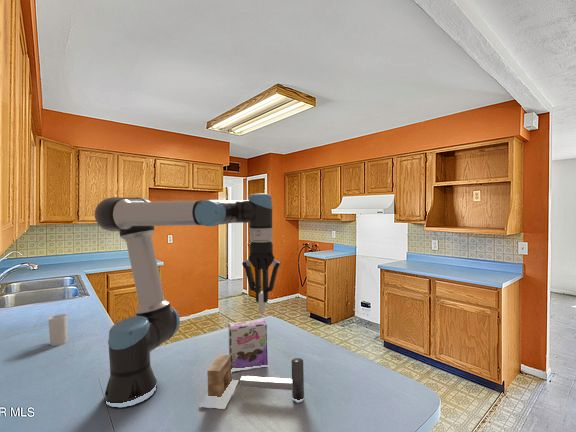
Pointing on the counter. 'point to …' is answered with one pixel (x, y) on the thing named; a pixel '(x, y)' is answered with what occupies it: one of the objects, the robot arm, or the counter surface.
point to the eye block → (219, 375)
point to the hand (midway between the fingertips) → (262, 311)
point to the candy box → (248, 343)
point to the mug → (58, 329)
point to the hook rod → (280, 381)
